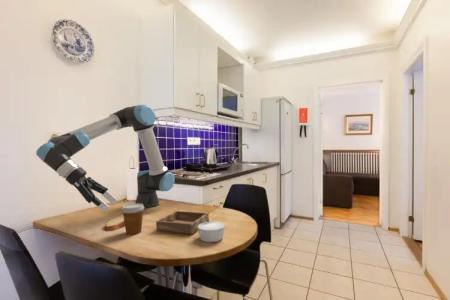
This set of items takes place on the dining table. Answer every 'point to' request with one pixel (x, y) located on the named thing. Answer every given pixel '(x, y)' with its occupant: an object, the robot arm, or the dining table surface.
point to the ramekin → (211, 231)
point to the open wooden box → (182, 222)
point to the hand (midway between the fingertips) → (111, 205)
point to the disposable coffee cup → (133, 218)
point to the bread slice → (115, 223)
